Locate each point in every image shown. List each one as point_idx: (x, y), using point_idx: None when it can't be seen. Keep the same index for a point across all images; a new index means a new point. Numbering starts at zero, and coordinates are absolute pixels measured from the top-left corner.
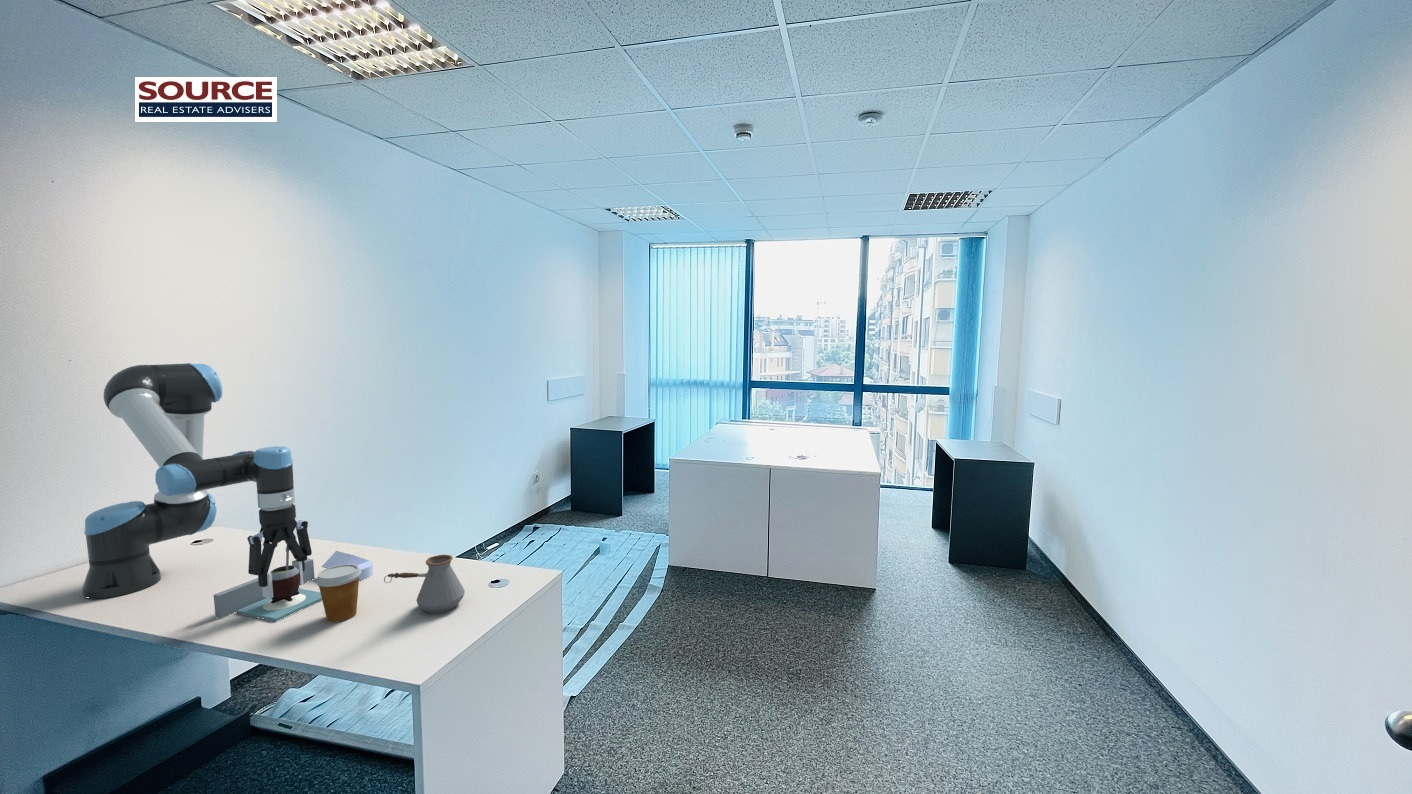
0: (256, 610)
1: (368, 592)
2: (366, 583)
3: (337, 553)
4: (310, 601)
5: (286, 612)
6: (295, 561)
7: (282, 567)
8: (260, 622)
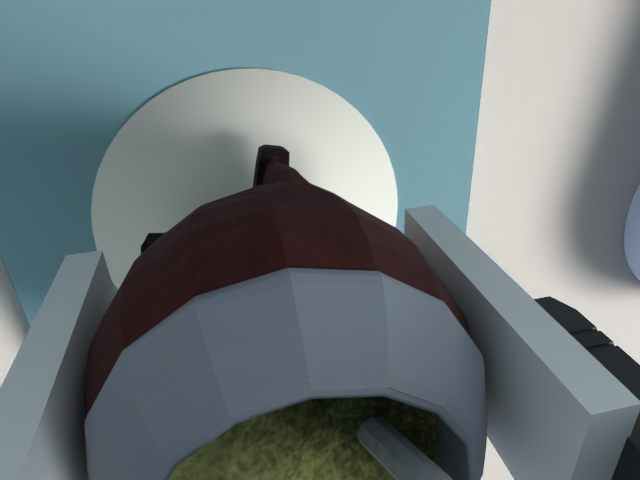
0: (35, 177)
1: None
2: (628, 345)
3: None
4: None
5: None
6: (586, 470)
7: (396, 389)
8: (5, 346)
